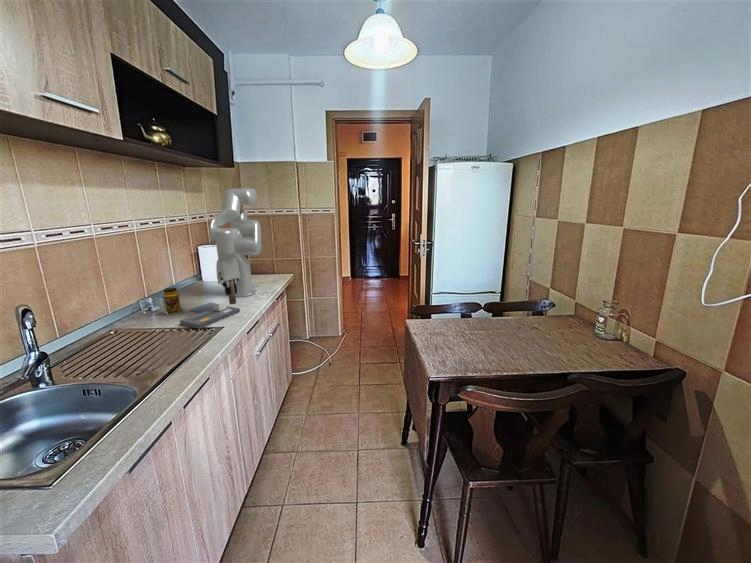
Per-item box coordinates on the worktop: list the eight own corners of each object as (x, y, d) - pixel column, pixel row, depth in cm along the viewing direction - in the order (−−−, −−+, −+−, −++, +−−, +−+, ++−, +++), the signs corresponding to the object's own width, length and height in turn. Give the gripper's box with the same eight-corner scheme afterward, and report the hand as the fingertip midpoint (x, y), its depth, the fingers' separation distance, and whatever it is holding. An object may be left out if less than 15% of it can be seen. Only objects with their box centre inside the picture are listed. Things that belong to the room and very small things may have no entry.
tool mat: (210, 303, 175) (210, 302, 174) (224, 306, 170) (224, 304, 170) (189, 310, 164) (189, 309, 164) (203, 313, 160) (203, 312, 160)
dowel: (233, 302, 167) (229, 274, 164) (237, 302, 166) (234, 275, 162) (228, 303, 164) (224, 276, 161) (232, 304, 163) (229, 276, 160)
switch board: (221, 309, 166) (221, 305, 165) (239, 312, 161) (239, 308, 160) (180, 324, 146) (179, 320, 146) (199, 328, 142) (198, 324, 141)
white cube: (220, 307, 161) (219, 300, 160) (226, 308, 160) (225, 301, 159) (213, 309, 158) (212, 302, 157) (219, 311, 156) (218, 303, 155)
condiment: (170, 315, 158) (166, 291, 155) (161, 312, 162) (156, 289, 159) (185, 311, 164) (181, 287, 161) (176, 308, 168) (172, 285, 165)
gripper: (234, 253, 168) (238, 288, 173) (206, 259, 154) (211, 297, 158) (245, 254, 165) (249, 290, 170) (217, 260, 151) (223, 299, 155)
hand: (231, 293), depth 164 cm, fingers closed on dowel, 3 cm apart
